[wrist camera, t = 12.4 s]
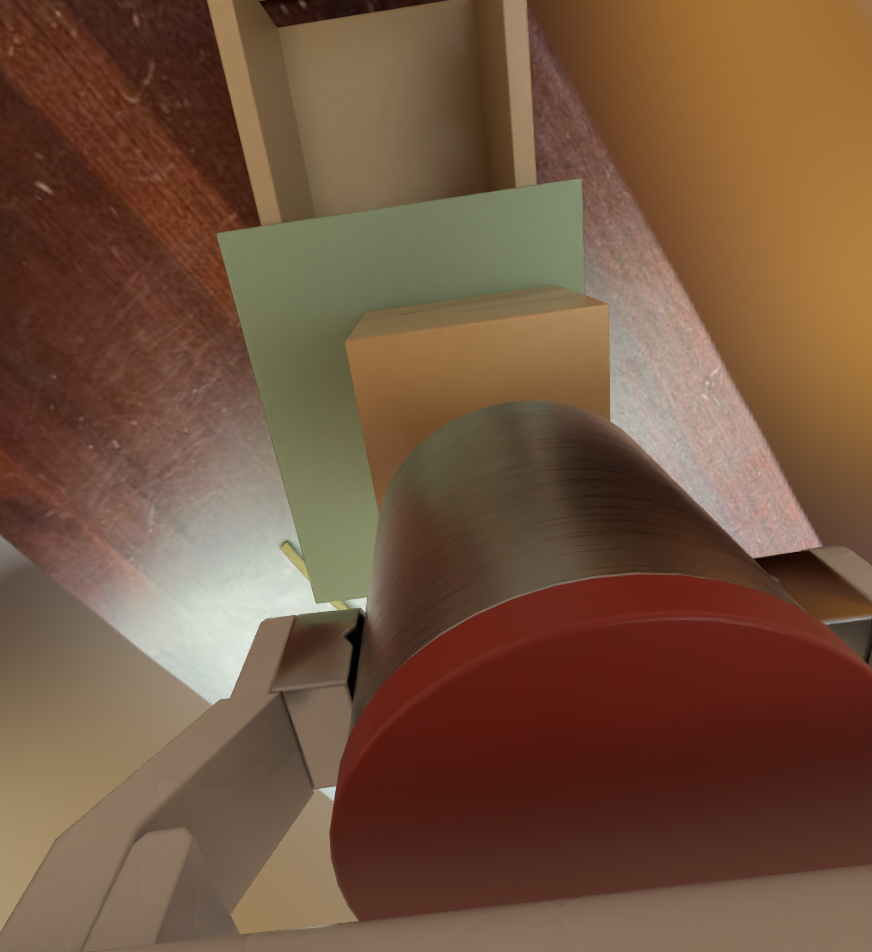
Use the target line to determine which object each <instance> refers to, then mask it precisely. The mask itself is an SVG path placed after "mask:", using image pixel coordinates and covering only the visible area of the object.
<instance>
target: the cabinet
mask: <svg viewBox="0 0 872 952" xmlns="http://www.w3.org/2000/svg"><path fill="white" fill-rule="evenodd" d="M216 235H217V239H218V243H219V246H220V250H221V254H222V258H223V261H224V265H225V269H226V272H227V276H228V280H229V283H230V287H231V291H232V295H233V298H234V302H235V306H236V309H237V313H238V317H239V320H240V324H241V328H242V332H243V335H244V339H245V343H246V346H247V350H248V354H249V357H250V361H251V365H252V369H253V372H254V376H255V380H256V383H257V387H258V391H259V394H260V398H261V402H262V406H263V409H264V413H265V417H266V420H267V424H268V428H269V431H270V435H271V439H272V443H273V446H274V450H275V454H276V457H277V461H278V465H279V468H280V472H281V476H282V480H283V483H284V487H285V491H286V494H287V498H288V502H289V505H290V509H291V513H292V517H293V520H294V524H295V528H296V531H297V535H298V539H299V542H300V546H301V550H302V554H303V557H304V561H305V565H306V568H307V572H308V576H309V579H310V583H311V587H312V591H313V594H314V598H315V602H316V603H317V604H318V603H325V602H333V601H341V600H349V599H357V598H364V597H367V596H368V589H369V582H370V575H371V567H372V560H373V553H374V546H375V538H376V531H377V524H378V518H379V513H378V508H377V503H376V498H375V493H374V488H373V483H372V478H371V473H370V468H369V462H368V457H367V452H366V447H365V442H364V437H363V432H362V427H361V422H360V417H359V412H358V407H357V402H356V397H355V392H354V387H353V382H352V377H351V372H350V367H349V362H348V357H347V352H346V347H345V341H346V340H347V338H348V337H349V335H350V334H351V332H352V331H353V330H354V328H355V327H356V325H357V324H358V322H359V321H360V320H361V318H362V317H363V315H364V314H365V313H366V312H369V311H376V310H383V309H390V308H397V307H404V306H411V305H418V304H425V303H432V302H438V301H445V300H452V299H459V298H466V297H473V296H480V295H487V294H494V293H501V292H507V291H514V290H521V289H528V288H535V287H542V286H549V285H559V286H562V287H564V288H567V289H570V290H572V291H575V292H578V293H580V294H583V295H585V270H584V233H583V197H582V179H581V178H578V179H571V180H565V181H558V182H551V183H545V184H538V185H531V186H525V187H518V188H511V189H505V190H498V191H491V192H485V193H478V194H472V195H465V196H458V197H452V198H445V199H438V200H432V201H425V202H418V203H412V204H405V205H398V206H392V207H385V208H378V209H372V210H365V211H359V212H352V213H345V214H339V215H332V216H325V217H319V218H312V219H305V220H299V221H292V222H285V223H279V224H272V225H266V226H259V227H252V228H246V229H239V230H232V231H226V232H219V233H216Z"/></svg>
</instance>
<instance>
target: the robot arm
mask: <svg viewBox="0 0 872 952" xmlns="http://www.w3.org/2000/svg"><path fill="white" fill-rule="evenodd" d="M753 559H754V560H755V561H756V562H757V563H758V564H759V565H760V566H761V567H762V568H763V569H764V570H765V571H766V572H767V573H768V574H769V575H770V576H771V577H772V578H773V579H774V580H775V581H776V582H777V583H778V584H779V585H780V586H781V587H782V588H783V589H784V590H785V591H786V592H787V593H788V594H789V595H790V596H791V597H792V598H793V599H794V600H795V601H796V602H797V603H798V604H799V605H800V606H801V607H802V608H803V609H804V610H805V611H806V612H807V613H808V614H809V615H811V616H812V617H814V618H816V619H817V620H819V621H820V622H822V623H824V624H825V625H826V626H827V627H828V628H829V629H830V630H832V631H833V632H834V633H835V634H836V635H837V636H838V637H840V638H841V639H842V640H843V641H844V642H845V643H846V644H847V645H848V646H849V647H850V648H851V649H852V650H853V651H855V652H856V653H857V654H858V655H859V656H860V657H861V658H862V659H863V660H864V661H865V662H866V663H867V664H868V665H869V666H870V667H871V668H872V566H871V565H870V564H869V563H867V562H866V561H865V560H863V559H862V558H861V557H859V556H858V555H857V554H855V553H854V552H853V551H851V550H850V549H848V548H846V547H843V546H839V545H831V546H825V547H818V548H812V549H806V550H802V551H800V552H792V553H785V554H778V555H770V556H763V557H756V558H753ZM364 618H365V613H364V611H363V610H362V609H361V608H355V609H346V610H337V611H327V612H318V613H309V614H299V615H298V616H296V615H291V616H283V617H275V618H268V619H265V620H264V621H263V622H261V624H260V625H259V628H258V630H257V633H256V635H255V638H254V640H253V643H252V645H251V648H250V650H249V653H248V655H247V657H246V660H245V662H244V665H243V667H242V670H241V672H240V675H239V677H238V680H237V682H236V685H235V687H234V690H233V692H232V695H231V697H230V698H229V699H221V700H219V701H218V702H217V703H215V704H214V705H213V706H212V707H211V708H209V709H208V710H207V711H206V712H205V713H204V714H202V715H201V716H200V717H199V718H198V719H197V720H195V721H194V722H193V723H192V724H191V725H189V726H188V727H187V728H186V729H185V730H184V731H183V732H181V733H180V734H179V735H178V736H176V737H175V738H174V739H173V740H172V741H171V742H169V743H168V744H167V745H166V746H165V747H164V748H162V749H161V750H160V751H159V752H158V753H157V754H155V756H153V757H152V758H151V759H149V760H148V761H147V762H146V763H145V764H144V765H142V766H141V767H140V768H139V769H138V770H136V771H135V772H134V773H133V774H132V775H131V776H129V777H128V778H127V779H126V780H125V781H124V782H122V783H121V784H120V785H119V786H118V787H116V789H114V790H113V791H112V792H111V793H109V794H108V795H107V796H106V797H105V798H103V799H102V800H101V801H100V802H99V803H98V804H96V805H95V806H94V807H93V808H92V809H91V810H89V811H88V812H87V813H86V814H85V815H84V816H82V817H81V818H80V819H79V820H78V821H76V822H75V823H74V824H73V825H72V826H71V827H69V828H68V829H67V830H66V831H65V832H63V833H62V834H61V835H60V836H59V837H58V838H56V840H55V841H54V843H53V845H52V846H51V848H50V850H49V851H48V853H47V855H46V856H45V858H44V860H43V862H42V863H41V865H40V866H39V868H38V870H37V871H36V873H35V875H34V877H33V878H32V880H31V882H30V883H29V885H28V887H27V888H26V890H25V892H24V893H23V895H22V897H21V898H20V900H19V902H18V904H17V905H16V907H15V909H14V910H13V912H12V913H11V915H10V917H9V918H8V920H7V922H6V923H5V925H4V927H3V929H2V930H1V932H0V952H872V864H865V865H856V866H847V867H838V868H830V869H821V870H812V871H803V872H795V873H786V874H777V875H768V876H759V877H751V878H742V879H733V880H724V881H715V882H706V883H697V884H688V885H679V886H670V887H661V888H652V889H643V890H634V891H625V892H616V893H607V894H598V895H589V896H580V897H571V898H562V899H553V900H544V901H535V902H526V903H517V904H508V905H499V906H490V907H481V908H472V909H463V910H454V911H445V912H437V913H428V914H419V915H410V916H401V917H392V918H383V919H374V920H365V921H357V922H349V923H348V922H347V923H339V924H330V925H321V926H312V927H304V928H294V929H285V930H276V931H267V932H259V933H250V934H241V935H240V933H239V931H238V929H237V927H236V925H235V923H234V921H233V919H232V917H231V915H230V914H231V913H232V911H233V910H234V908H235V907H236V905H237V904H238V903H239V901H240V900H241V898H242V897H243V895H244V894H245V892H246V891H247V889H248V888H249V887H250V885H251V884H252V882H253V881H254V879H255V878H256V876H257V875H258V874H259V872H260V871H261V869H262V868H263V866H264V865H265V863H266V862H267V860H268V859H269V858H270V856H271V855H272V853H273V852H274V850H275V849H276V847H277V846H278V844H279V843H280V841H281V840H282V839H283V837H284V836H285V834H286V833H287V831H288V830H289V828H290V827H291V826H292V824H293V823H294V821H295V820H296V818H297V817H298V815H299V814H300V813H301V811H302V809H303V808H304V807H305V805H306V804H307V802H308V801H309V799H310V798H311V796H312V795H313V794H314V793H313V789H320V788H327V787H334V786H336V785H337V779H338V772H339V766H340V761H341V758H342V755H343V752H344V749H345V746H346V743H347V740H348V734H349V727H350V720H351V712H352V705H353V698H354V691H355V683H356V676H357V669H358V662H359V654H360V647H361V640H362V633H363V625H364Z"/></svg>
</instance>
